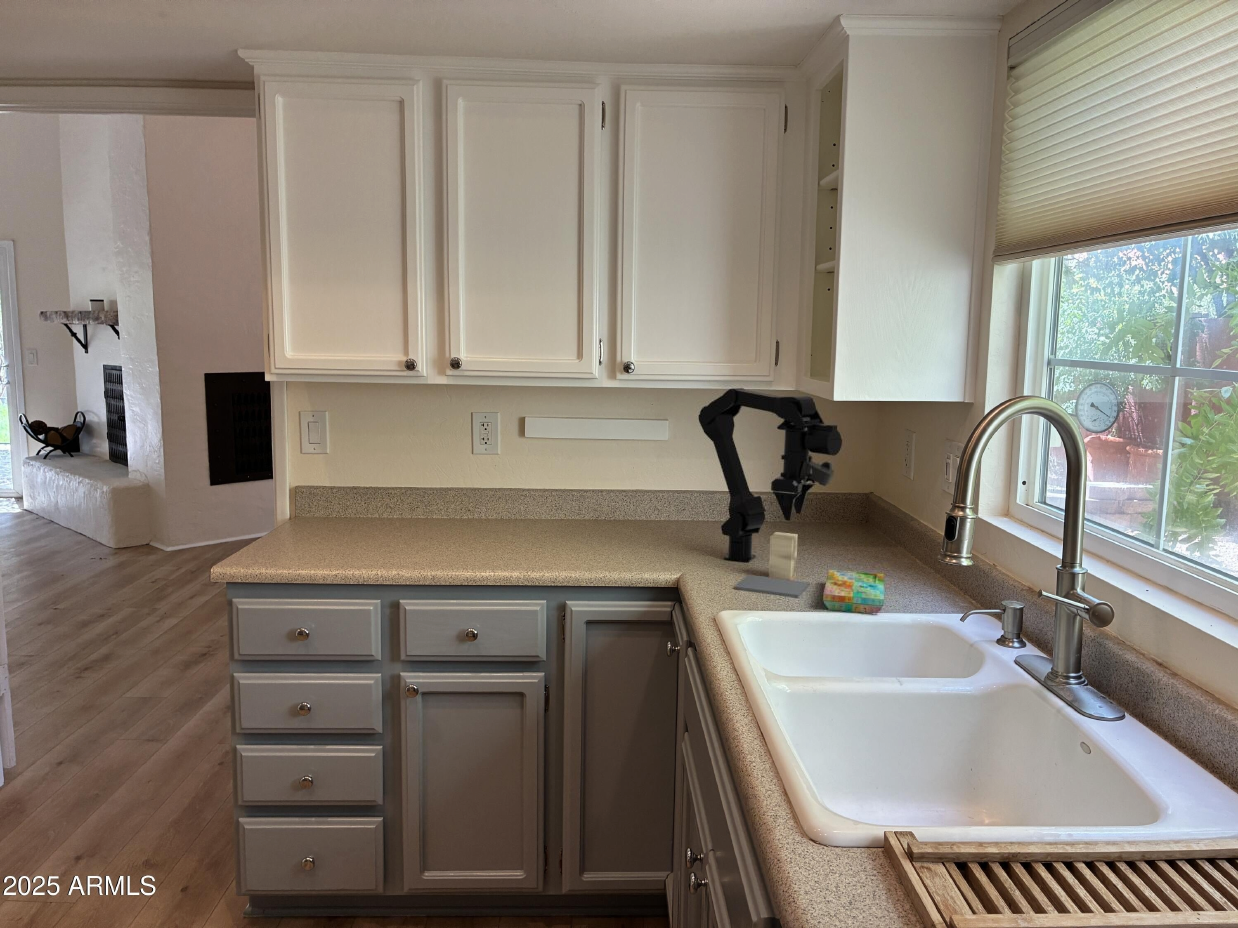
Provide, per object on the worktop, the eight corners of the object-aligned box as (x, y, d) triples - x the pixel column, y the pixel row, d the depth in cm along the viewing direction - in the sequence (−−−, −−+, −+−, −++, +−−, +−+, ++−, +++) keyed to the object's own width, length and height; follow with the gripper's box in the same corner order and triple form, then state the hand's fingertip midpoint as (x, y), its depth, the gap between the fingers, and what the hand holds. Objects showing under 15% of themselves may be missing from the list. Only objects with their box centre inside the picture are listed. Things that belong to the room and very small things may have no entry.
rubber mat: (748, 577, 211) (748, 574, 211) (809, 585, 206) (809, 582, 205) (734, 589, 201) (734, 586, 201) (798, 597, 196) (798, 594, 195)
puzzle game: (823, 589, 186) (829, 565, 205) (822, 612, 187) (828, 586, 206) (884, 594, 183) (884, 570, 202) (882, 617, 184) (882, 591, 203)
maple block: (774, 574, 214) (776, 532, 213) (795, 576, 212) (797, 534, 211) (768, 579, 210) (770, 536, 208) (790, 582, 208) (792, 538, 206)
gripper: (821, 458, 201) (817, 528, 204) (840, 448, 218) (837, 513, 220) (771, 454, 206) (768, 522, 208) (794, 445, 223) (791, 508, 225)
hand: (793, 516), depth 215 cm, fingers open, 9 cm apart
